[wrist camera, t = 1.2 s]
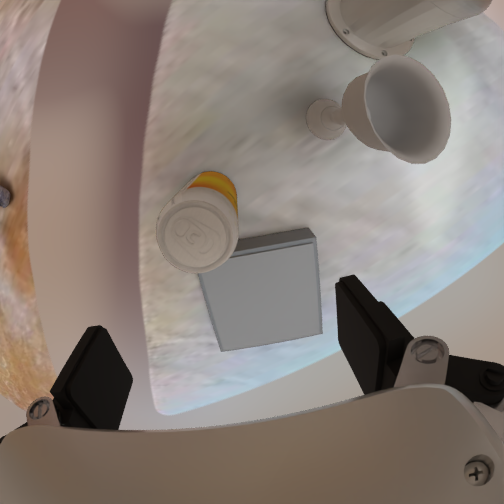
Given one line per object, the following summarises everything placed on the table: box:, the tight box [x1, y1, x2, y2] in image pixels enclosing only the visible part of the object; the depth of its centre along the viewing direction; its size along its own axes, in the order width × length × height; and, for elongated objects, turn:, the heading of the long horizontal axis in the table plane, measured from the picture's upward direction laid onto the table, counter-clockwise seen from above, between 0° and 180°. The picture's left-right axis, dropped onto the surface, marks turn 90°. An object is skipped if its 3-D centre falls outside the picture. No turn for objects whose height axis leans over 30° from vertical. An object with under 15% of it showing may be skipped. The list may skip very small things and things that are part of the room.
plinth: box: [198, 228, 323, 352], centre depth 37 cm, size 14×14×4 cm
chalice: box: [306, 55, 451, 164], centre depth 22 cm, size 7×7×18 cm
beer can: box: [156, 171, 239, 273], centre depth 27 cm, size 6×6×15 cm
